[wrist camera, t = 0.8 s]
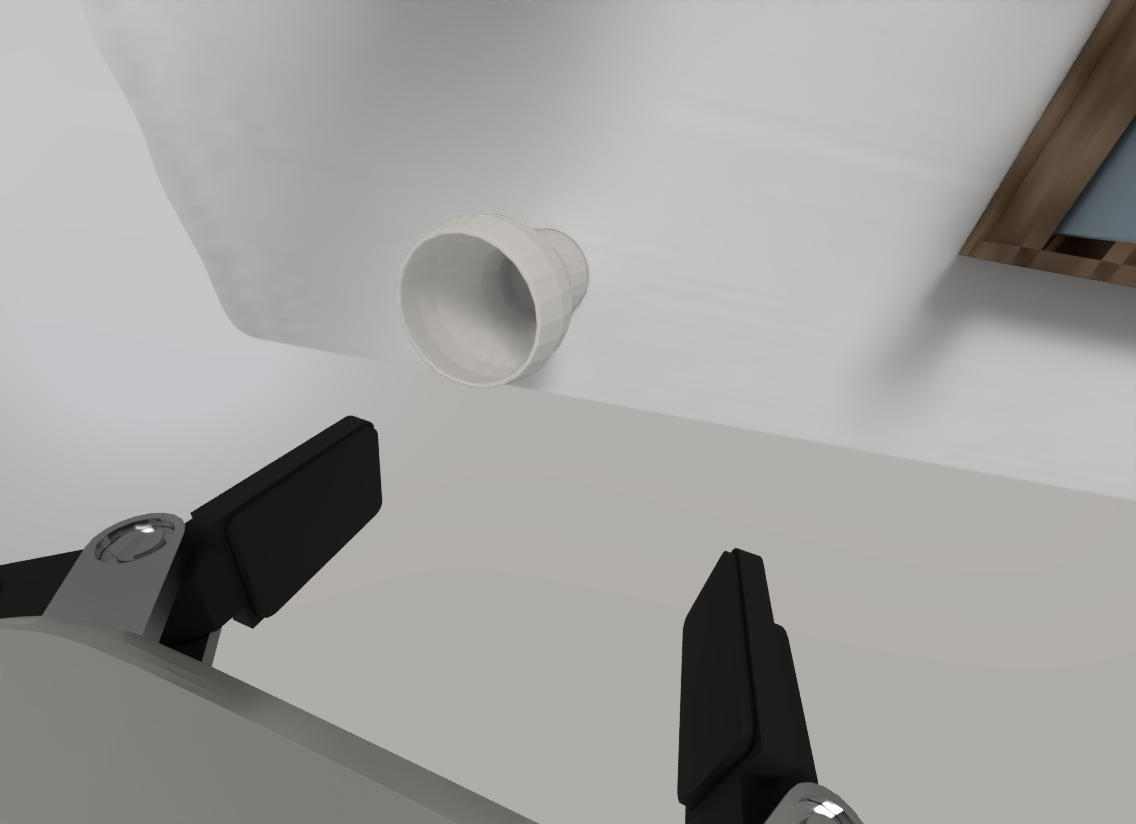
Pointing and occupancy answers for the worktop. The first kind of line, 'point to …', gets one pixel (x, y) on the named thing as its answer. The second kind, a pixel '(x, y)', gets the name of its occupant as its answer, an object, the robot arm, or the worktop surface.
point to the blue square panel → (1107, 197)
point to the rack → (1068, 164)
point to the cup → (489, 298)
